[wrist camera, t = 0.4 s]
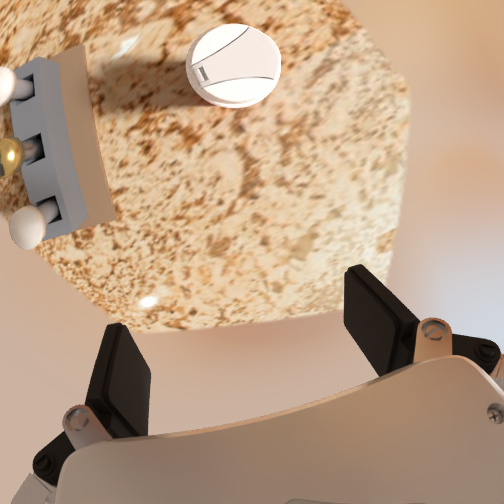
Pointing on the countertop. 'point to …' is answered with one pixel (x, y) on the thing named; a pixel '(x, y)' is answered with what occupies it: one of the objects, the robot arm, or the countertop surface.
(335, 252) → the countertop surface
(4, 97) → the knob
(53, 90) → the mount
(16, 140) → the pot knob
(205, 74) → the coffee cup
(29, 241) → the knob
